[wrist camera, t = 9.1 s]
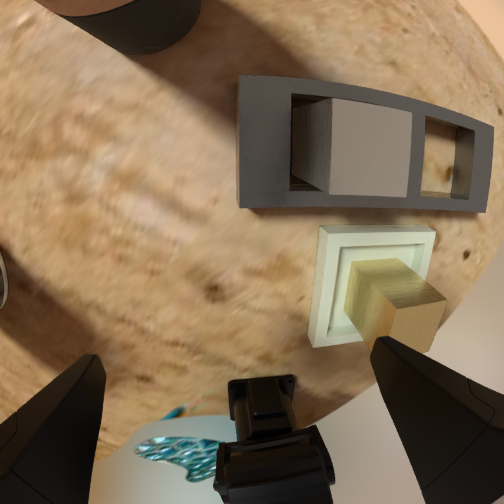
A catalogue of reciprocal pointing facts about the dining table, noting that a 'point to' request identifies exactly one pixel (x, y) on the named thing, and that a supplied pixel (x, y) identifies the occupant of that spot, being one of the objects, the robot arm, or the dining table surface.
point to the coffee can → (3, 282)
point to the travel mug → (130, 21)
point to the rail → (284, 195)
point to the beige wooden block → (393, 303)
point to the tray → (338, 268)
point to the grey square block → (352, 148)
